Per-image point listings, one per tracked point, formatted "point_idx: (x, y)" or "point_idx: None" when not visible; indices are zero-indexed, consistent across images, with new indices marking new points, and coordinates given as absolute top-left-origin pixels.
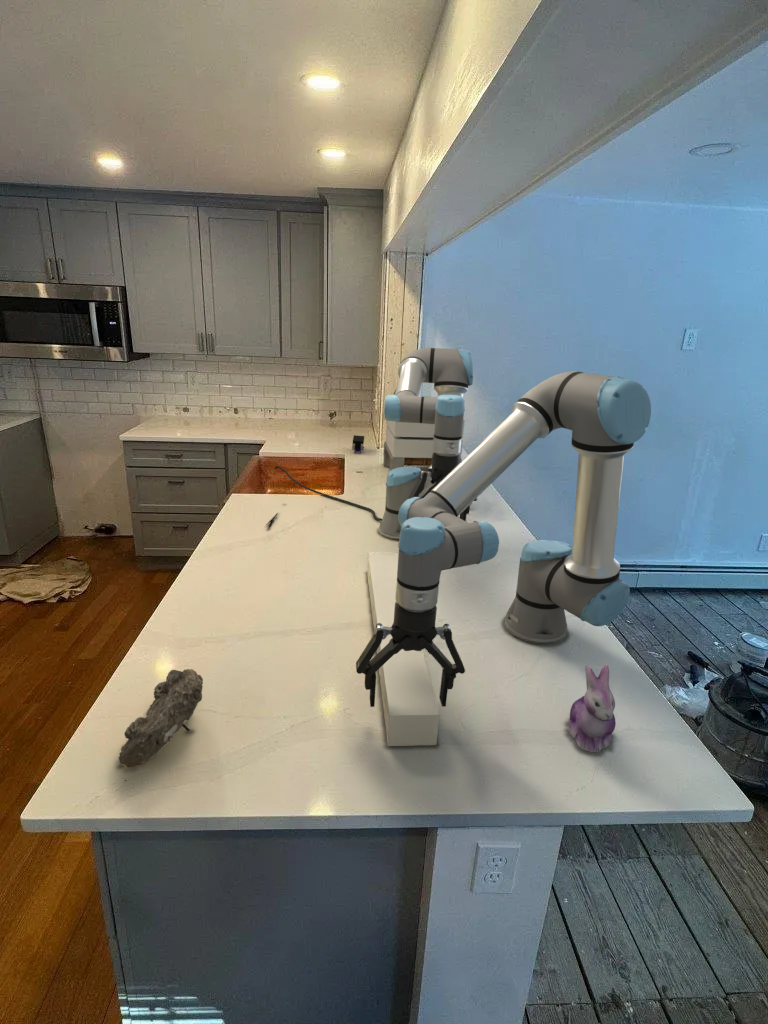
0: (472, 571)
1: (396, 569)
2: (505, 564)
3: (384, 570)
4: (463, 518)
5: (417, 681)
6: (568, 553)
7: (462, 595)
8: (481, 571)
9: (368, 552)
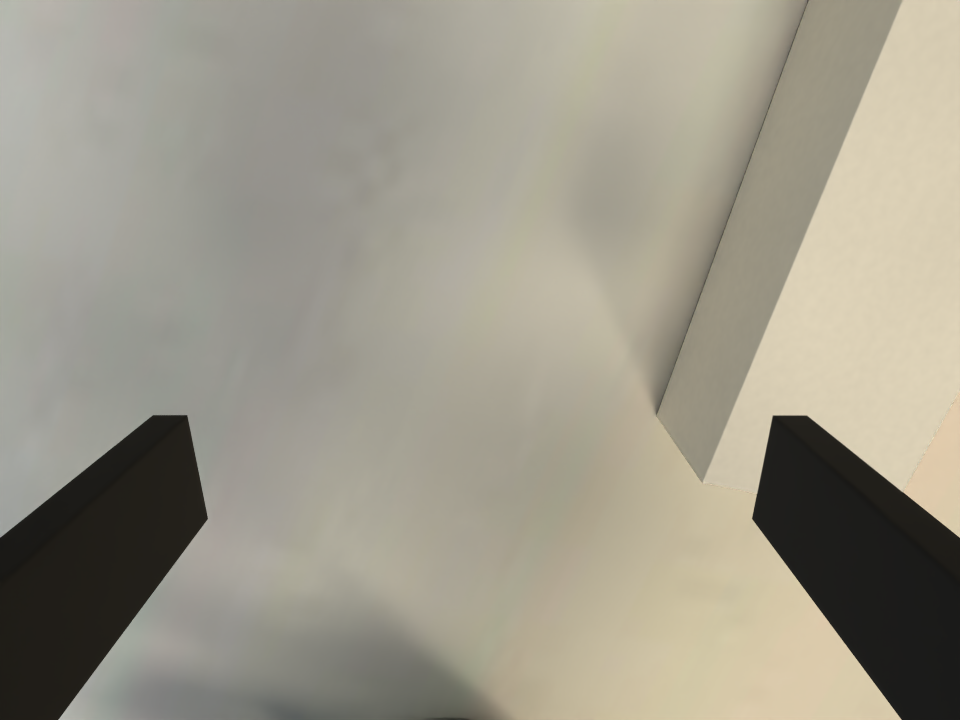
0: (228, 350)
1: (853, 227)
2: (3, 392)
3: (946, 228)
4: (127, 477)
5: None
6: None
7: (396, 66)
8: (175, 340)
9: None
